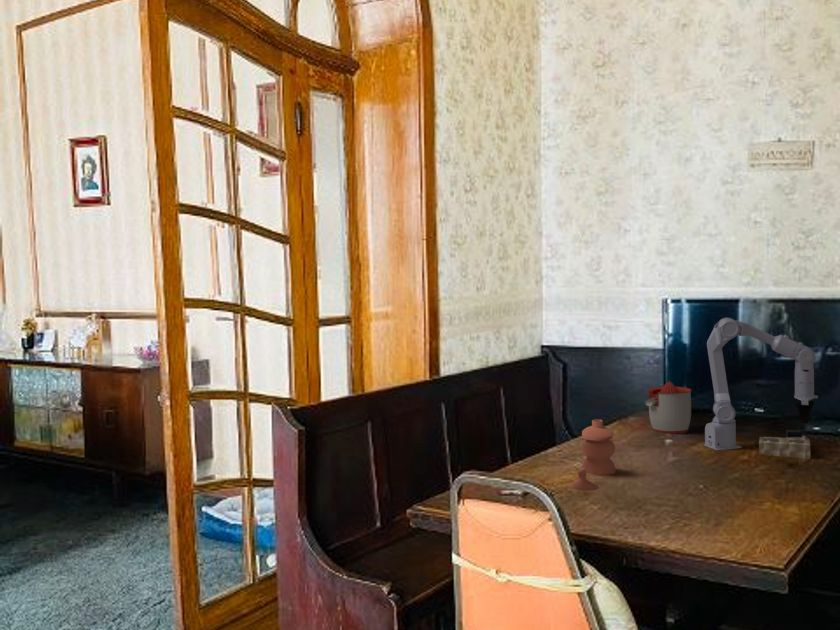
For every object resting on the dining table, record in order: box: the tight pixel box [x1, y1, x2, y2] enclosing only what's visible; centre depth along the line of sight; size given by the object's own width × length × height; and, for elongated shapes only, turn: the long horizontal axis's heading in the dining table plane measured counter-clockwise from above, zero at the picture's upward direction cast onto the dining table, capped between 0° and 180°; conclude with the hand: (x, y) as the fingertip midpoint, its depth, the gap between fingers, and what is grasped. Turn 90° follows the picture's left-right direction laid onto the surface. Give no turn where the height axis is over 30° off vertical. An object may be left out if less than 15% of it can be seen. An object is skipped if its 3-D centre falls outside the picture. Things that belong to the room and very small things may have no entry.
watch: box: [785, 429, 809, 439], centre depth 264 cm, size 6×8×11 cm
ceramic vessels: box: [567, 419, 617, 492], centre depth 222 cm, size 35×21×19 cm, turn 154°
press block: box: [758, 436, 811, 460], centre depth 256 cm, size 15×9×5 cm, turn 65°
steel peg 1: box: [765, 439, 778, 442], centre depth 258 cm, size 4×4×5 cm
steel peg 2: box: [790, 440, 804, 443], centre depth 255 cm, size 4×4×5 cm
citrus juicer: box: [645, 381, 692, 435], centre depth 293 cm, size 16×17×20 cm
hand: (804, 422), depth 259 cm, fingers closed
